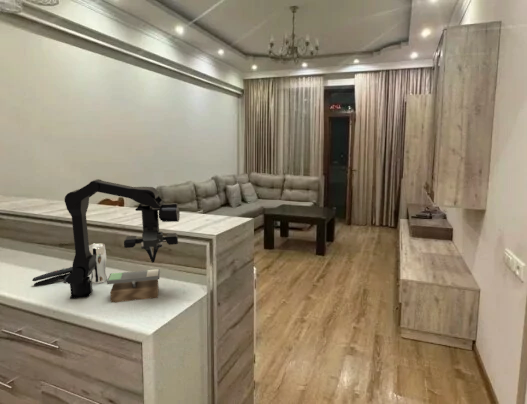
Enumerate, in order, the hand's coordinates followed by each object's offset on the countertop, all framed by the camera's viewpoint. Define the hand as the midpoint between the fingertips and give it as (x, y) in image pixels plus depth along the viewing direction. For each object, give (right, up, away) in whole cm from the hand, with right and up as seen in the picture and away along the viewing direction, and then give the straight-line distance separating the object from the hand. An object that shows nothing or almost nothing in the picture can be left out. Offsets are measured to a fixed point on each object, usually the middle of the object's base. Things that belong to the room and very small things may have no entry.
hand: (153, 262), depth 133 cm
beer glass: (-26, -10, +13) cm, 31 cm away
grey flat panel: (-7, -6, -1) cm, 9 cm away
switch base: (-7, -12, +1) cm, 14 cm away
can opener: (-42, -11, +12) cm, 45 cm away
